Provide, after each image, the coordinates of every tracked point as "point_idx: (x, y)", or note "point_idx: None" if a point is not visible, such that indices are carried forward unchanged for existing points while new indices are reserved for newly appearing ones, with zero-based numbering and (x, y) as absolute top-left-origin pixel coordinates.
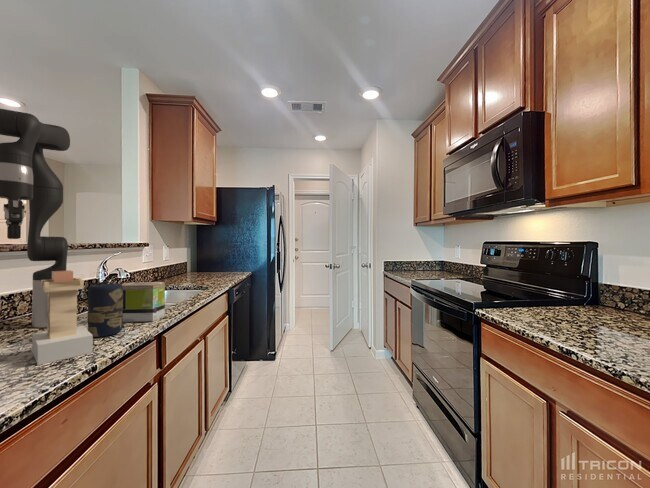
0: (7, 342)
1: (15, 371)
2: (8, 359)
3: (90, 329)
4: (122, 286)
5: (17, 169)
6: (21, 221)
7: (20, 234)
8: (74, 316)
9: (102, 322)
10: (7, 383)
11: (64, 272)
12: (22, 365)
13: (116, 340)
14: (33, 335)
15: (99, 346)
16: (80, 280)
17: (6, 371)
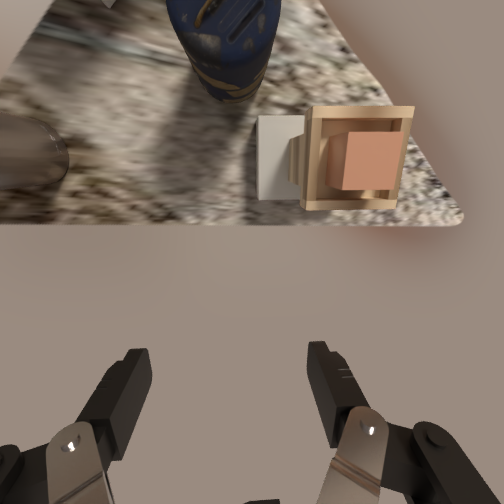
0: (162, 222)
1: (342, 216)
2: (275, 222)
3: (244, 98)
4: None
5: None
6: (439, 429)
7: (329, 354)
8: None
9: (265, 70)
10: (382, 224)
11: (397, 159)
12: None
13: (302, 61)
14: (274, 199)
15: (317, 101)
16: (412, 116)
17: (333, 224)
